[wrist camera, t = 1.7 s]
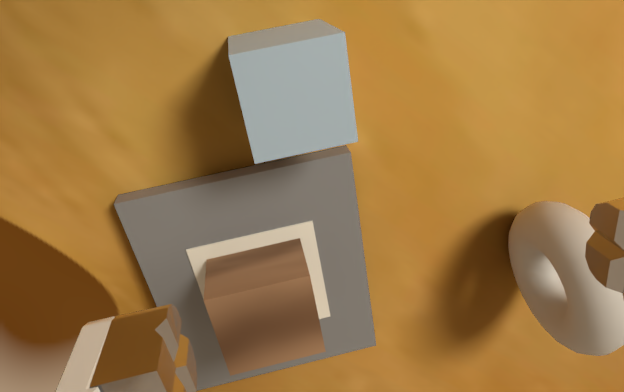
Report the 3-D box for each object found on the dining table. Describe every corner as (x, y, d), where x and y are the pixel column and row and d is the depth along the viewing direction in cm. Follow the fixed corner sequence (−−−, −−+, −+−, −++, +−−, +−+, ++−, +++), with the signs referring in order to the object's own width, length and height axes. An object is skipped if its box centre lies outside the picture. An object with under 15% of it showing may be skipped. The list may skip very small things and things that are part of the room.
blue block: (228, 36, 24) (228, 55, 19) (319, 18, 24) (344, 32, 19) (249, 125, 26) (254, 164, 21) (332, 107, 27) (358, 141, 21)
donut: (492, 185, 31) (598, 270, 22) (539, 169, 31) (663, 248, 22) (501, 293, 36) (592, 398, 27) (542, 279, 36) (646, 380, 27)
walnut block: (206, 259, 28) (203, 300, 25) (299, 238, 29) (310, 275, 25) (229, 329, 31) (230, 375, 28) (314, 309, 32) (325, 351, 28)
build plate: (118, 194, 27) (113, 204, 26) (346, 145, 28) (351, 152, 27) (194, 378, 34) (192, 392, 33) (371, 334, 35) (376, 346, 34)
